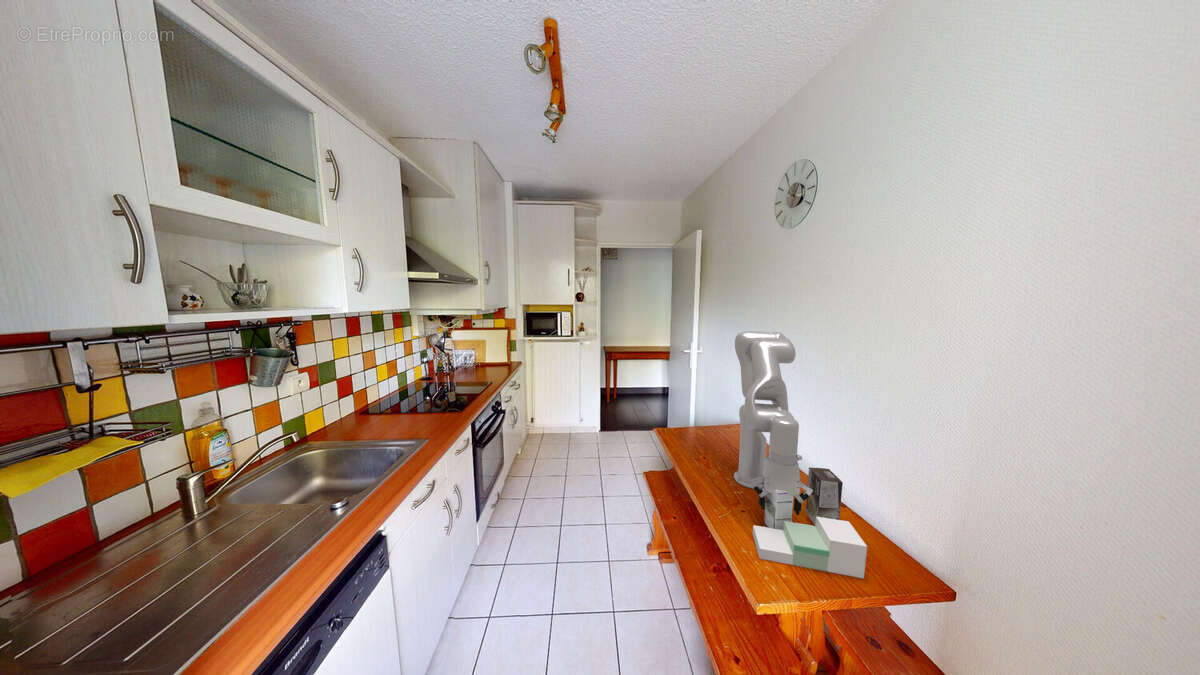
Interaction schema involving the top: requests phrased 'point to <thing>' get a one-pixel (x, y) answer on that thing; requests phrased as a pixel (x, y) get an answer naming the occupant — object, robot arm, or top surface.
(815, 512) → the coffee box
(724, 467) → the top surface
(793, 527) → the stepped riser
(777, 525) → the syrup box
